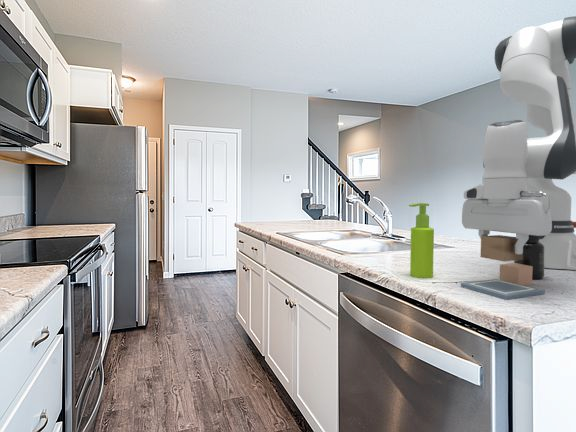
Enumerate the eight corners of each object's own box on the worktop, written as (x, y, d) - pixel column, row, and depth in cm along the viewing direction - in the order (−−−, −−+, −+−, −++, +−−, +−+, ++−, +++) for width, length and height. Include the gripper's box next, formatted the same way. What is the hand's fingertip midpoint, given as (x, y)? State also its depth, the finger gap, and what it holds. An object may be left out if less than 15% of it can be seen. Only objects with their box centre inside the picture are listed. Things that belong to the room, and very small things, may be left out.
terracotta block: (513, 279, 95) (513, 262, 95) (531, 284, 91) (532, 266, 90) (499, 281, 93) (500, 264, 93) (518, 286, 89) (518, 268, 88)
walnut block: (498, 255, 88) (499, 235, 88) (522, 259, 82) (523, 237, 82) (480, 257, 86) (481, 236, 86) (503, 261, 80) (504, 238, 80)
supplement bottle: (531, 273, 102) (533, 231, 101) (550, 279, 95) (551, 233, 94) (507, 274, 101) (508, 231, 101) (524, 280, 94) (525, 234, 94)
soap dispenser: (402, 274, 101) (403, 203, 100) (422, 272, 104) (423, 202, 103) (417, 279, 96) (418, 203, 95) (437, 277, 98) (439, 203, 97)
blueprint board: (496, 282, 92) (496, 278, 92) (544, 293, 81) (544, 289, 81) (460, 286, 88) (460, 282, 88) (506, 299, 77) (506, 295, 77)
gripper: (560, 191, 75) (557, 257, 75) (476, 192, 94) (475, 245, 95) (539, 190, 72) (537, 259, 73) (458, 191, 92) (456, 246, 92)
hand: (501, 251), depth 84 cm, fingers closed on walnut block, 6 cm apart
